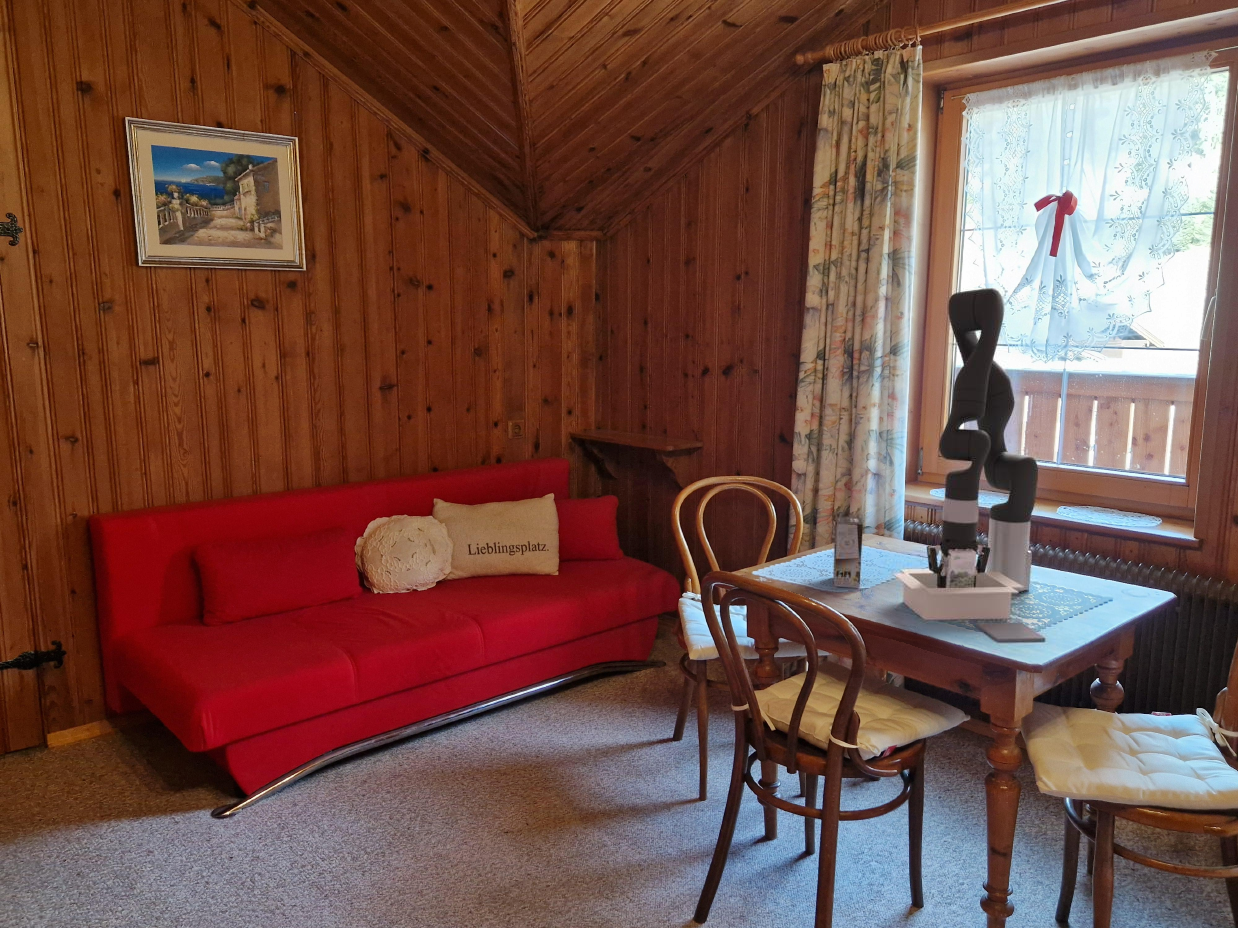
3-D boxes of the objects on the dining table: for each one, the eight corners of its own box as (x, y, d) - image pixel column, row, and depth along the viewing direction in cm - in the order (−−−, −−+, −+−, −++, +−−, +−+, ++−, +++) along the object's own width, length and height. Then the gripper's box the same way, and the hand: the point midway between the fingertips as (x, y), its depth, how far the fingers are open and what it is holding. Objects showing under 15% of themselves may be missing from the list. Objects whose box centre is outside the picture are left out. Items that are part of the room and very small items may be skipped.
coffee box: (860, 588, 224) (863, 524, 222) (833, 587, 226) (836, 523, 223) (858, 578, 233) (861, 516, 231) (832, 577, 235) (835, 515, 232)
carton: (989, 596, 218) (991, 568, 217) (1029, 622, 199) (1032, 591, 198) (885, 598, 217) (887, 569, 215) (916, 624, 198) (917, 593, 196)
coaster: (1021, 624, 197) (1021, 622, 197) (1045, 640, 188) (1045, 637, 187) (976, 625, 197) (976, 622, 197) (997, 641, 187) (997, 638, 187)
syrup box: (961, 605, 211) (965, 544, 209) (972, 613, 205) (976, 550, 203) (937, 605, 211) (941, 544, 208) (947, 614, 205) (951, 551, 202)
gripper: (984, 514, 209) (979, 585, 211) (922, 514, 208) (918, 586, 210) (999, 521, 201) (994, 595, 204) (935, 521, 200) (931, 596, 203)
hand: (955, 590), depth 207 cm, fingers closed on syrup box, 5 cm apart
